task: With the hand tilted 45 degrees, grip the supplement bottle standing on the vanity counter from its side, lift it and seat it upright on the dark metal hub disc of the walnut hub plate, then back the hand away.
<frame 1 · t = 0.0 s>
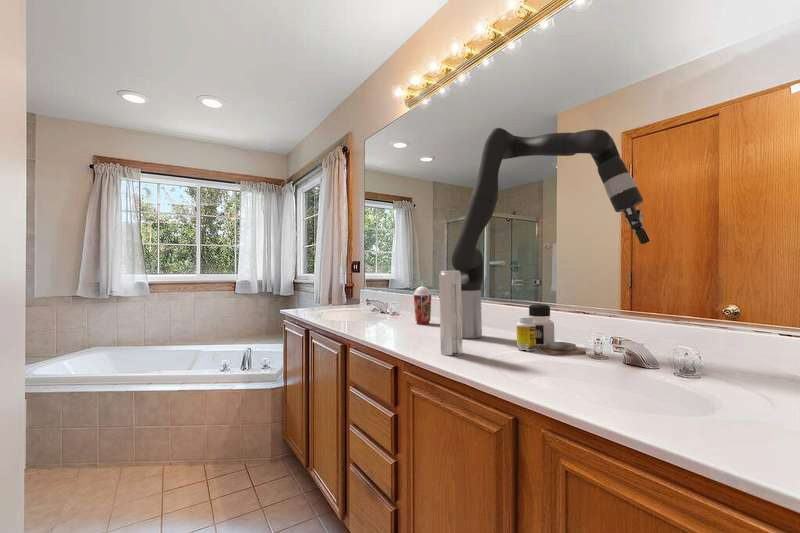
hand: (647, 243, 110), 31 cm above the worktop, tool tilted 20°, fingers open, 8 cm apart
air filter: (451, 354, 117), on the worktop
container: (540, 344, 129), on the worktop
supplement bottle: (526, 350, 120), on the worktop
hub: (561, 351, 117), on the worktop
smoothie: (423, 324, 180), on the worktop
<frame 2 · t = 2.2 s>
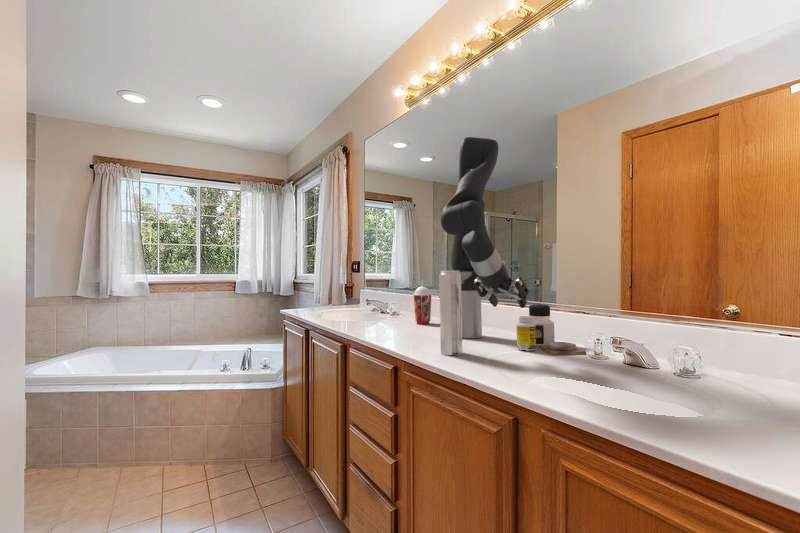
hand: (509, 305, 112), 15 cm above the worktop, tool tilted 45°, fingers open, 8 cm apart
nothing on the worktop moved.
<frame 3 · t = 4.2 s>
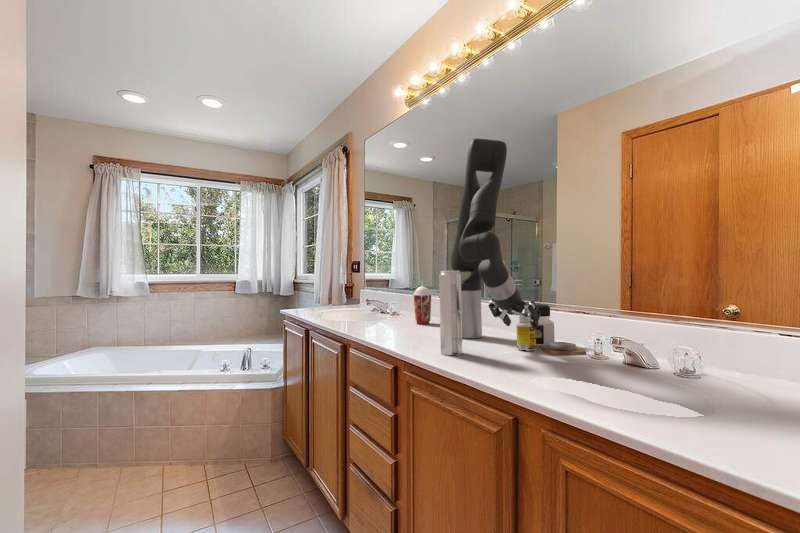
hand: (522, 325, 118), 8 cm above the worktop, tool tilted 45°, fingers open, 8 cm apart
nothing on the worktop moved.
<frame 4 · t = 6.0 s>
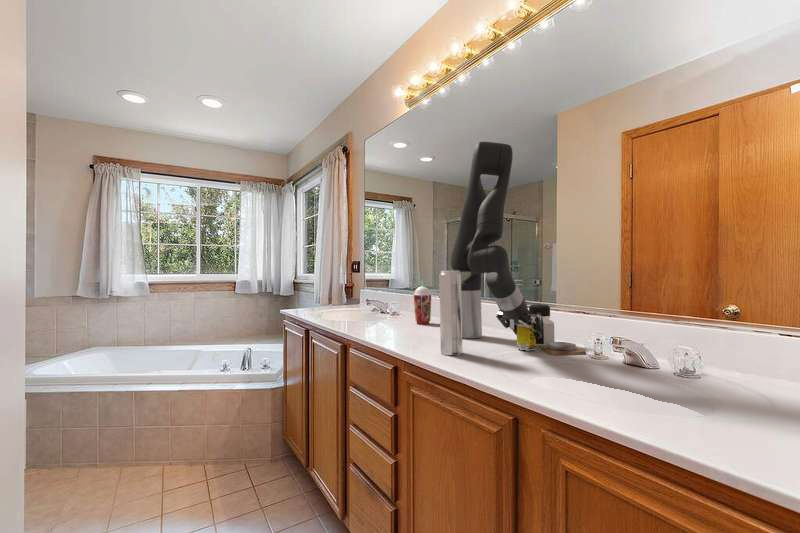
hand: (528, 335, 121), 4 cm above the worktop, tool tilted 45°, fingers closed on supplement bottle, 5 cm apart
supplement bottle: (526, 350, 120), on the worktop, touching gripper
everything else where it was.
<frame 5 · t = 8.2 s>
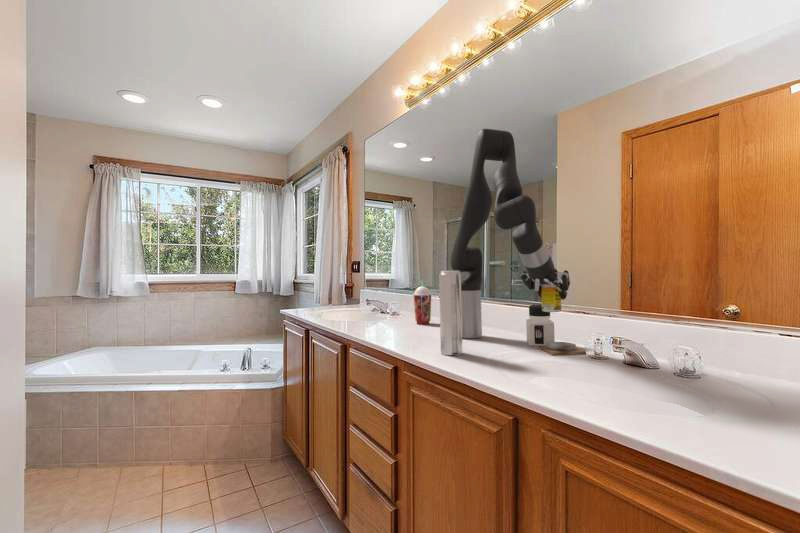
hand: (553, 297, 119), 16 cm above the worktop, tool tilted 45°, fingers closed on supplement bottle, 5 cm apart
supplement bottle: (551, 312, 118), point 12 cm above the worktop, touching gripper
everything else where it was.
when the fingers open (7 cm above the worktop, at t = 10.6 s): supplement bottle stays where it is, resting on hub.
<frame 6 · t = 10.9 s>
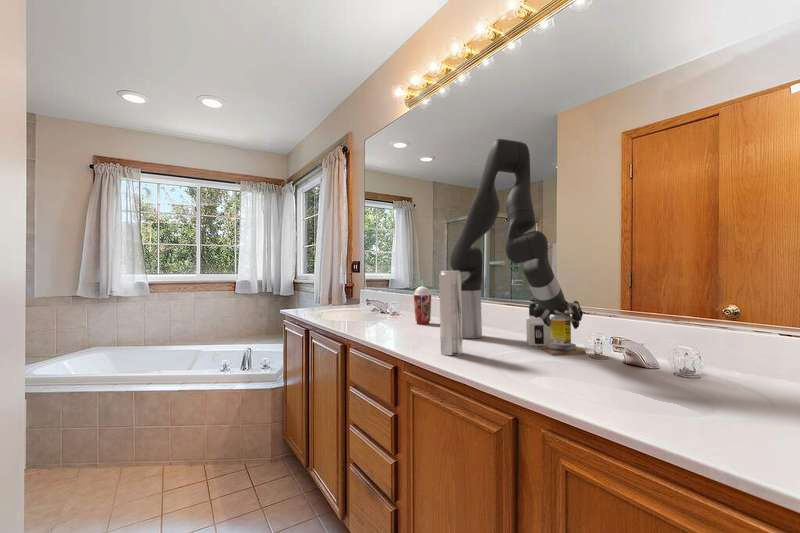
hand: (562, 325, 118), 8 cm above the worktop, tool tilted 45°, fingers open, 7 cm apart
supplement bottle: (561, 345, 117), point 2 cm above the worktop, touching hub
everything else where it was.
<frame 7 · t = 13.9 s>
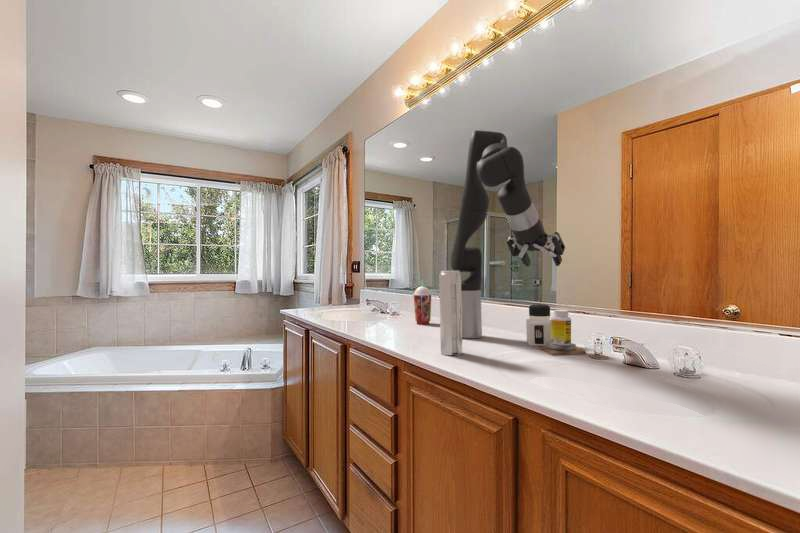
hand: (543, 264, 109), 26 cm above the worktop, tool tilted 45°, fingers open, 8 cm apart
nothing on the worktop moved.
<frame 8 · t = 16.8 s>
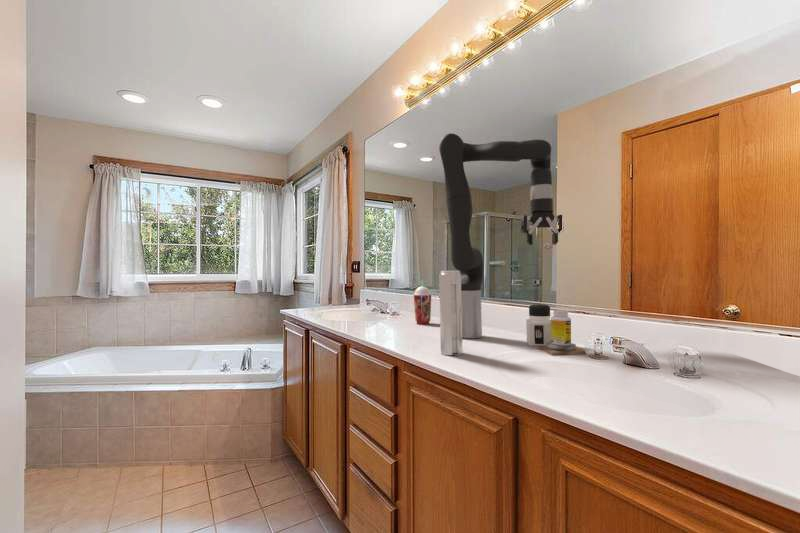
hand: (542, 244, 138), 33 cm above the worktop, tool pointing down, fingers open, 8 cm apart
nothing on the worktop moved.
at the end: supplement bottle 0.2 cm from the hub (horizontally); supplement bottle tilted 1°; supplement bottle point 1.8 cm above the worktop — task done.
